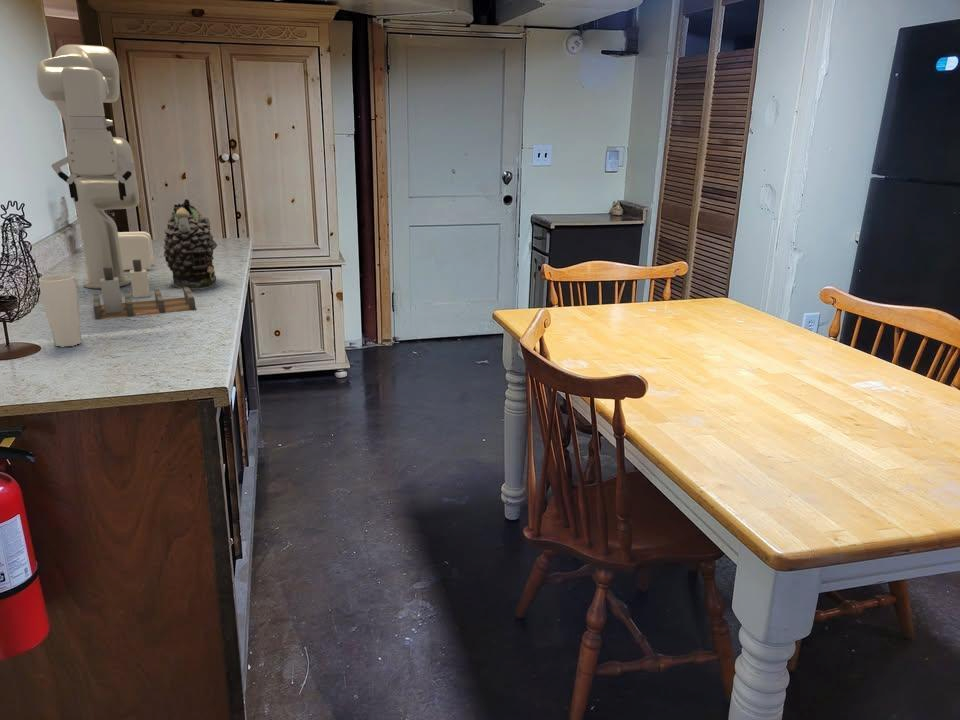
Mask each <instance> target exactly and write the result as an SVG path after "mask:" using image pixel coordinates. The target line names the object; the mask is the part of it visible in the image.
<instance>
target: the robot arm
mask: <svg viewBox="0 0 960 720" xmlns="http://www.w3.org/2000/svg"><path fill="white" fill-rule="evenodd" d="M119 67H120V66H119V63H118V59H117V57H116V55H115V53H114V51H112V50H111V49H110V48H109V47H107V46H102V45H89V44H88V45H87V44H64V45H62V46H60V47H59V48H58V49H57V50H56V51H55V55H54V57H49V58H46V59H42V60H41V61H39V62H38V64H37V67H36V79H37V85H38V89H39V91H40V93H41V95H42V97H44V98H45V99H46V100H48V101H52V102H53V103H54V104H55V106H56V108H57V110H58V111H59V113H60V116H61V118H62V119H63V122H64V127H65V132H66V148H67V149H66V151H67V156H66V157H63V158H62V159H59V160H58V161H56V162H54V163H52V164H51V168H52V170H53V171H54V172H55V174H56V175H57V176H58V177H59V178H60V179H61V180H63V181H64V182H65V183H67V185H68V189H69V195H70V198H71V199H72V202H73V204H74V208H75V210H76V214H77V219H78V224H79V229H80V234H81V242H82V246H83V247H82V248H83V254H84V258H85V260H84V261H85V265H86V271H87V277H88V279H86V280H84V281H83V282H82V283H83V287H84V288H87V289H101V282H100V279H102V278H104V272H103V268H104V267H112V271H113V278H115V277H118V281H119V287H120V288H121V287H123V286H127V285H130V284H131V277H130V278H129V277H127V276H125V274H124V273H125V271H123V265H122V259H121V252H120V245H119V238H118V232H119V231H118V226H117V224H116V222H115V221H114V219H112V217H111V216H110V215H108V214H107V213H106V212H105V211H107V210H108V211H109V210H123V209H124V210H125V209H126V210H127V209H134V208H136V207H138V205H139V203H140V193H139V192H140V191H139V186H138V179H137V174H136V168H135V167H136V164H135V161H134V155H133V152H132V148H131V144H130V143H129V142H128V140H126V139H124V138H123V137H119V136H118V137H117V136H113V134H112V132H111V131H110V130H107V128H109V127H113V126H114V123H113V119H109V118H108V119H107V118H106V117H105V116H106V114H105V108H104V103H107V104H108V103H109V104H110V103H115V102H116V101H117V100H118V99H119V98H120V93H121V91H120V90H121V89H120V68H119ZM67 164H68V165H69V170H70V175H69V176H68V175H67V174H66V173H64V172H63V171H62V169H61V167H63V166H64V165H67Z"/></svg>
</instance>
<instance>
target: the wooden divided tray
mask: <svg viewBox="0 0 960 720" xmlns="http://www.w3.org/2000/svg"><path fill="white" fill-rule="evenodd" d="M182 289H183V297H175V298H165V299H164V298H163V296H162V293H161V290H160V288H157V289H154V300H153V299H152V300H151V299H150V300H142V301H132V297H131V293H130V291H124V292H123V293H124V299H125V302H122V307H123V312H112V313H105V307H104V304H101V301H100V295H99V293H97V294H96V293H95V294H93V295H92V296H93V297H92V298H93V311H94V319H95V320H105V319H106V320H107V319H114V318H115V319H116V318H117V319H118V318H124V317H125V318H126V317H136V316H147V315H155V314H156V315H157V314H167V313H177V312H178V313H179V312H188V311H197V309H196V301H195V300H196V299H195V297H194V294H193V293H192V292H191V289H189V288H188V287H183V288H182Z"/></svg>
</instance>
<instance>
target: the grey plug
mask: <svg viewBox="0 0 960 720" xmlns="http://www.w3.org/2000/svg"><path fill="white" fill-rule="evenodd" d="M103 272H104V278H102V279H100V282H101V288H100V289H101V292H102V293H101V294H102V302H103V305H104V307H105V313H112V312H123V307H122V303H123V301H122V295H121V289H120V288H121V286H120V287H119V281H118V277H115V278H113V271H112V267H104V268H103Z"/></svg>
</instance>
